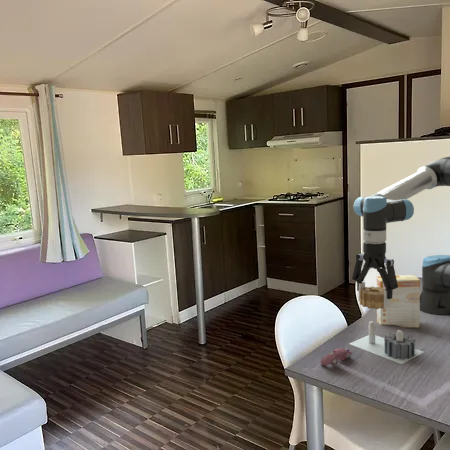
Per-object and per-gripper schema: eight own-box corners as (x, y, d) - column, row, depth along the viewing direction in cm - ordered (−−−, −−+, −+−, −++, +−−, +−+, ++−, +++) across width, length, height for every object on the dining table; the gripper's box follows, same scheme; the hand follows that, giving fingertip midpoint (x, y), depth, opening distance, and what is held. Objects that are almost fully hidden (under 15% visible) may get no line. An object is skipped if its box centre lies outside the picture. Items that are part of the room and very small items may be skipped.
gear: (395, 344, 161) (395, 330, 160) (420, 353, 153) (421, 339, 152) (378, 352, 155) (378, 338, 154) (404, 362, 148) (404, 347, 147)
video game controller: (326, 373, 150) (333, 358, 146) (318, 362, 153) (324, 348, 149) (349, 365, 154) (356, 351, 150) (340, 354, 157) (347, 341, 154)
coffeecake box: (414, 321, 184) (415, 274, 181) (420, 328, 177) (420, 279, 174) (376, 321, 186) (376, 275, 183) (380, 328, 179) (380, 280, 176)
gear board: (371, 337, 171) (371, 313, 169) (424, 356, 154) (424, 329, 153) (348, 347, 164) (348, 322, 162) (401, 368, 147) (402, 340, 145)
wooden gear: (371, 298, 167) (371, 284, 166) (394, 304, 160) (394, 290, 159) (354, 304, 162) (354, 290, 161) (377, 311, 154) (378, 296, 153)
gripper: (341, 239, 164) (341, 298, 167) (397, 248, 146) (396, 314, 149) (354, 236, 168) (354, 294, 172) (410, 244, 150) (409, 309, 154)
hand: (374, 303), depth 160 cm, fingers closed on wooden gear, 10 cm apart
